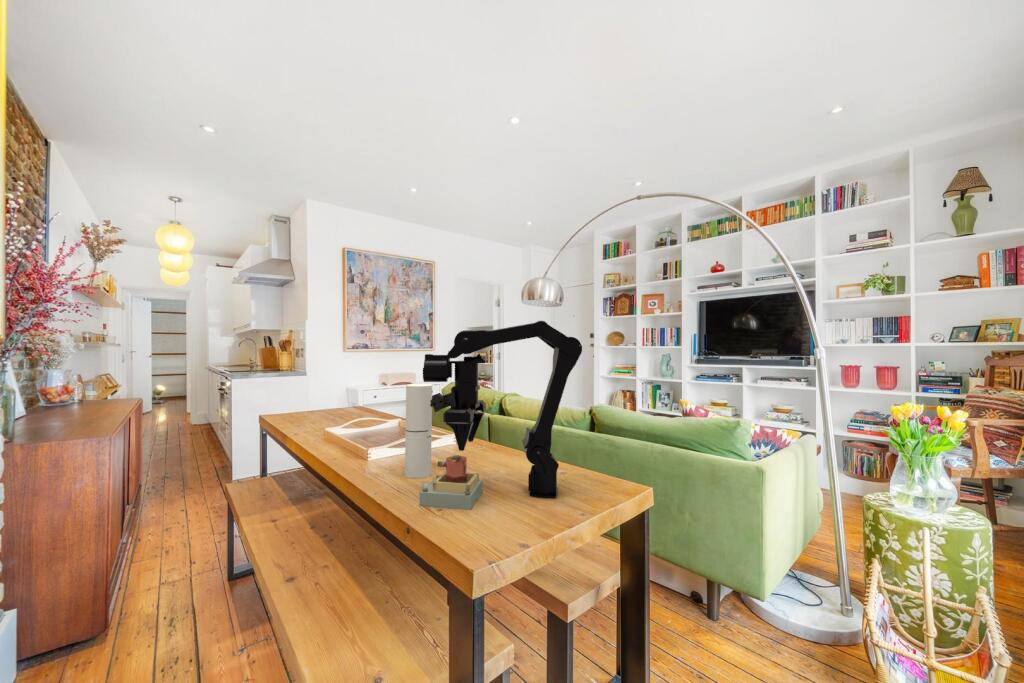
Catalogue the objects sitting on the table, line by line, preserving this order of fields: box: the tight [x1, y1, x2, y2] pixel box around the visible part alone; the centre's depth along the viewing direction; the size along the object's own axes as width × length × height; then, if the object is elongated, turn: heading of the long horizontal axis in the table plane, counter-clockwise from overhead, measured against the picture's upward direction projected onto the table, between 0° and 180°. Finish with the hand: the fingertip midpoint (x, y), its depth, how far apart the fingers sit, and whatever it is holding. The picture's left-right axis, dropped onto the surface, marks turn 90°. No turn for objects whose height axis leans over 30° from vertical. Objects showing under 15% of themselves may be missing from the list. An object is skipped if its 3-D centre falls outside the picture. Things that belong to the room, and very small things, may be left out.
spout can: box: [437, 454, 468, 484], centre depth 97 cm, size 7×5×7 cm
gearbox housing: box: [418, 470, 483, 511], centre depth 97 cm, size 14×11×5 cm
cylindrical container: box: [404, 383, 433, 479], centre depth 115 cm, size 7×7×25 cm
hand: (466, 445), depth 100 cm, fingers open, 9 cm apart
